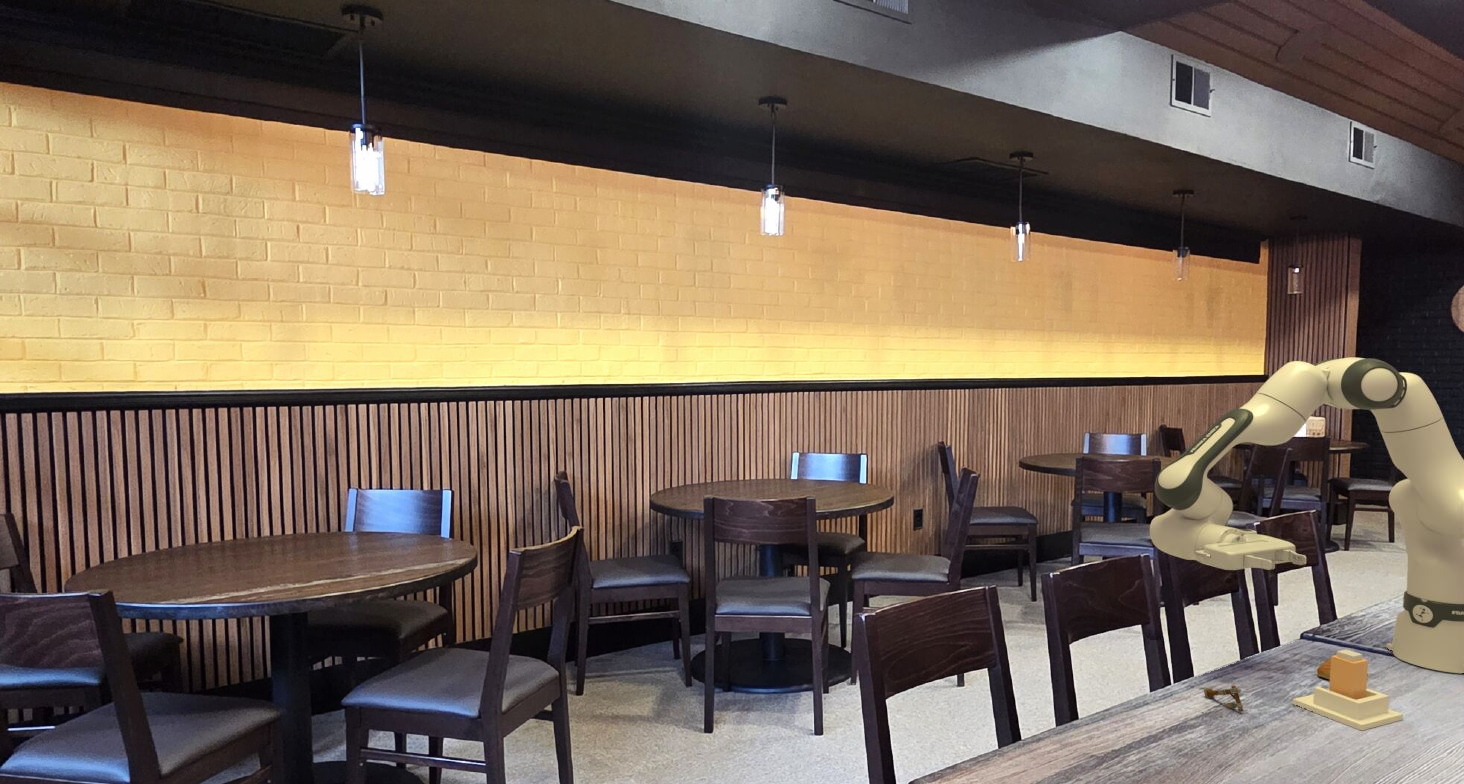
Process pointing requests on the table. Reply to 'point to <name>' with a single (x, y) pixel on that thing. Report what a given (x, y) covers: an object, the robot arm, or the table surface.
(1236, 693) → the wooden post with brackets
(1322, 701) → the holder
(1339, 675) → the block
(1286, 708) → the table surface
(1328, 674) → the pastry
